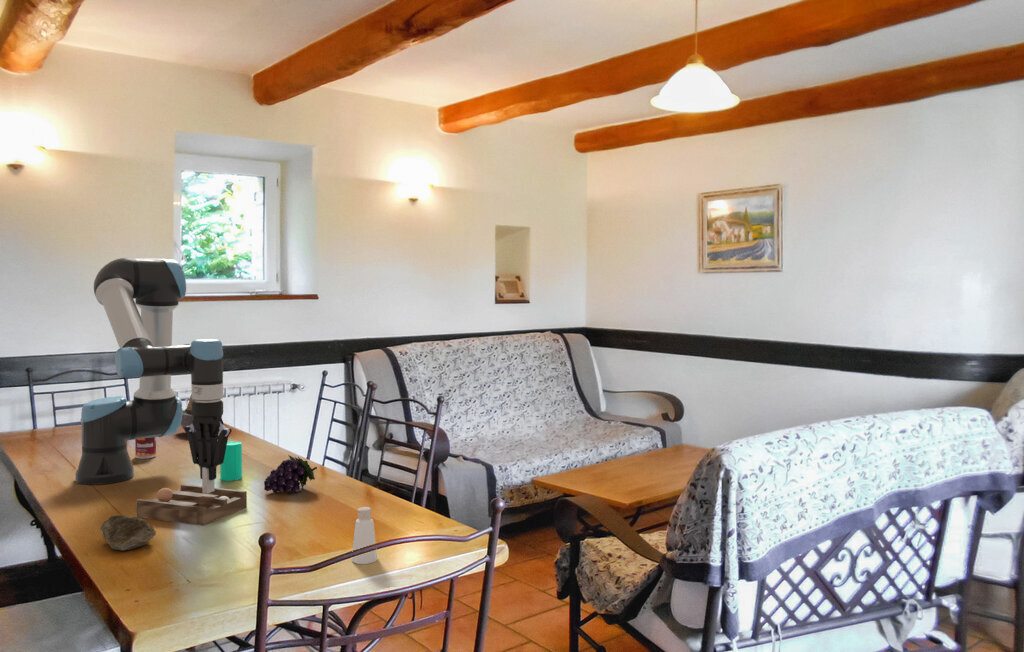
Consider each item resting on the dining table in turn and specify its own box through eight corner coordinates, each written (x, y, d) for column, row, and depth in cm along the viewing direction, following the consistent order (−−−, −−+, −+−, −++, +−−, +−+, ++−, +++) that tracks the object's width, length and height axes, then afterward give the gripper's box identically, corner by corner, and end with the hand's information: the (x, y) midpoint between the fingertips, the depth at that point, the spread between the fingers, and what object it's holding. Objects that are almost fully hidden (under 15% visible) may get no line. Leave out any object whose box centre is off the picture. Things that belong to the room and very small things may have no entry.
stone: (89, 535, 170) (112, 502, 173) (118, 550, 175) (140, 518, 178) (113, 549, 162) (137, 515, 165) (143, 564, 167) (165, 530, 170)
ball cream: (210, 503, 195) (219, 495, 194) (219, 499, 198) (228, 491, 197) (217, 515, 194) (227, 507, 193) (227, 511, 198) (236, 503, 197)
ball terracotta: (153, 503, 191) (153, 489, 191) (164, 499, 194) (164, 485, 194) (165, 505, 190) (165, 490, 189) (176, 501, 193) (175, 487, 193)
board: (136, 516, 190) (136, 499, 190) (183, 499, 205) (183, 484, 205) (203, 525, 184) (203, 508, 183) (246, 507, 199) (246, 491, 198)
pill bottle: (134, 459, 250) (134, 426, 249) (135, 455, 256) (135, 422, 255) (155, 458, 252) (155, 424, 252) (156, 454, 258) (156, 421, 257)
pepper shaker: (346, 562, 161) (346, 510, 160) (360, 554, 166) (360, 503, 165) (368, 566, 159) (368, 513, 158) (382, 557, 164) (382, 506, 163)
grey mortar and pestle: (209, 438, 284) (209, 384, 283) (164, 438, 284) (163, 384, 283) (225, 431, 299) (224, 379, 298) (182, 430, 299) (181, 379, 298)
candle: (234, 481, 224) (234, 440, 224) (216, 480, 225) (215, 439, 225) (246, 476, 230) (245, 436, 229) (227, 475, 231) (227, 435, 231)
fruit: (265, 502, 214) (314, 481, 223) (277, 504, 206) (328, 482, 215) (253, 467, 214) (303, 447, 222) (265, 468, 205) (316, 448, 214)
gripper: (175, 400, 195) (177, 493, 196) (218, 403, 190) (219, 498, 192) (196, 396, 202) (197, 486, 203) (238, 399, 198) (239, 490, 199)
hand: (208, 491), depth 197 cm, fingers closed
